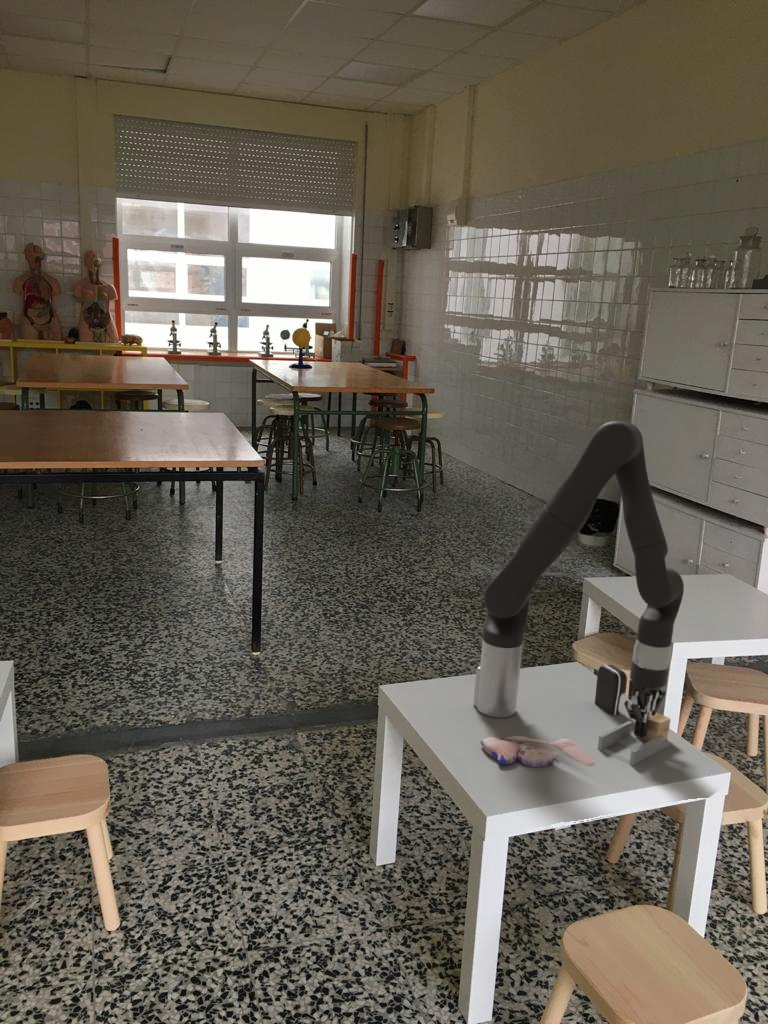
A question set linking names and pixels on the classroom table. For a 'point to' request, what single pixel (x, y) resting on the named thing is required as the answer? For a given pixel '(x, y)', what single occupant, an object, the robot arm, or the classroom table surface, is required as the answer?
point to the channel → (631, 743)
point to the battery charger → (610, 688)
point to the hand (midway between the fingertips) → (639, 735)
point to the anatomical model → (532, 751)
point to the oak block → (657, 727)
